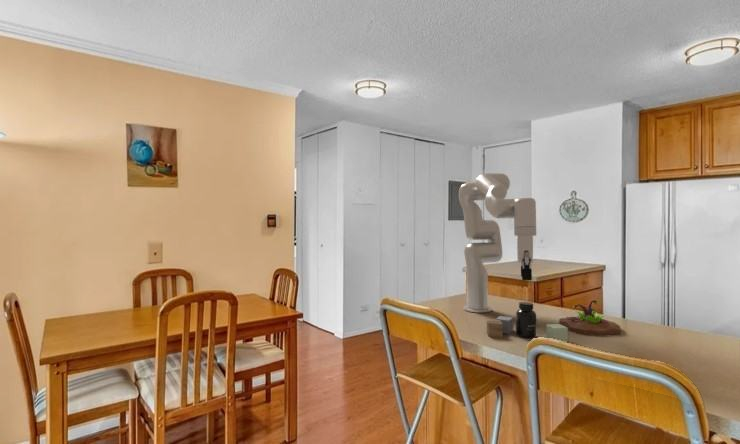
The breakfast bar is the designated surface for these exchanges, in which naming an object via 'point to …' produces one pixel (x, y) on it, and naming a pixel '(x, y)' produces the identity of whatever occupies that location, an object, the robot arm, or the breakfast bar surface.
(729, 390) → the breakfast bar surface
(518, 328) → the supplement bottle
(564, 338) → the sage cube
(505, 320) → the slate cube
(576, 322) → the plant
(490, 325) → the walnut cube
